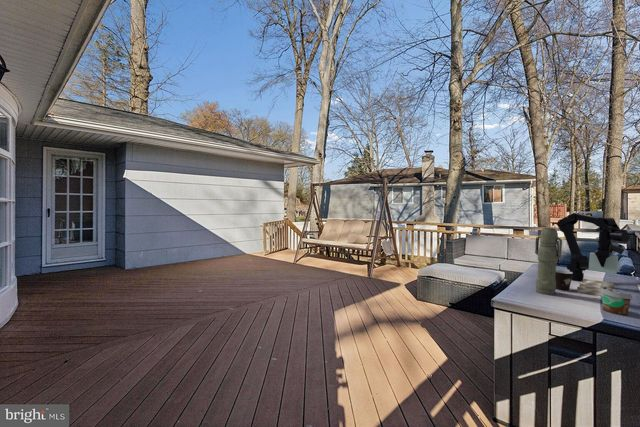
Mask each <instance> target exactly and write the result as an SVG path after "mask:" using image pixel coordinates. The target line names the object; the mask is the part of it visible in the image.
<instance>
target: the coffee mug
mask: <svg viewBox="0 0 640 427" xmlns="http://www.w3.org/2000/svg"><path fill="white" fill-rule="evenodd" d="M572 275H573V272H570V270H563V269H556V275H555V280H556V290H559V291H562V292H569V291H570V287H571V283H572V280H571V279H572Z"/></svg>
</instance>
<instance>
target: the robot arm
mask: <svg viewBox="0 0 640 427" xmlns="http://www.w3.org/2000/svg"><path fill="white" fill-rule="evenodd" d="M578 221H579V222H584V223H589V224H592V225H595V226H596V228H595V231H597V232H598V240H597V250H595V251H594V253H595V255H596V256H597V258H598V260H599V263H600V265H601V267H604V265H605V262H606V259H607V258H608V257H610V255H612V254H613V252H614V253H617V254H619V255H623V253H624V252H625V250H626V249H625V247H624V246H623V245H622V244H613V241H614V242H619V243H627V242H628V241H629V240H630V237H631V236H630V234H629V233H628V230H627V229H621V228H620V227H619V225H618V224H617V221H616V220H615V218H613V217H597V216H592V215H587V214H584V213H583V214H582V213H579V212H578V213H576V212H575V213H574V212H572V213H570V214H569V215H567V216H564V217H563V218H561V219H559V220H558V221H557V222H556V224H557V227H558V230H559V231H561V233H563V235H564V237H565V240H566V243H567V246H568V250H569V253H570V254H571V256H570V258H569V259H570V260H569V261H570V263H569V264H567V265H566V269H567V271H570V272H573V275H572V279H571V281H576V282H583V278H584V276H585V273H584V271H586V270H587V268H589V259H588V256H587V255H583V253H582V251H581V249H580V247H579V244H578V242H577V241H578V240H577V238H576V236H575V233H574V229H575V225H576V224H577V223H578ZM597 227H598V228H597ZM584 279H585V278H584Z"/></svg>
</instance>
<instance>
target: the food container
mask: <svg viewBox="0 0 640 427" xmlns="http://www.w3.org/2000/svg"><path fill="white" fill-rule="evenodd" d="M607 288H608V287H605V286H602V289H601V291H600V292H601V293H602V296H601V298H602V310H603V311H605V312H607V313H610V314H612V315H618V316H628V314H629V310H630V304H631V300H633V295H632V294H631V293H623V292H621V291H618V290H614V289H613V290H610V289H607Z"/></svg>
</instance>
